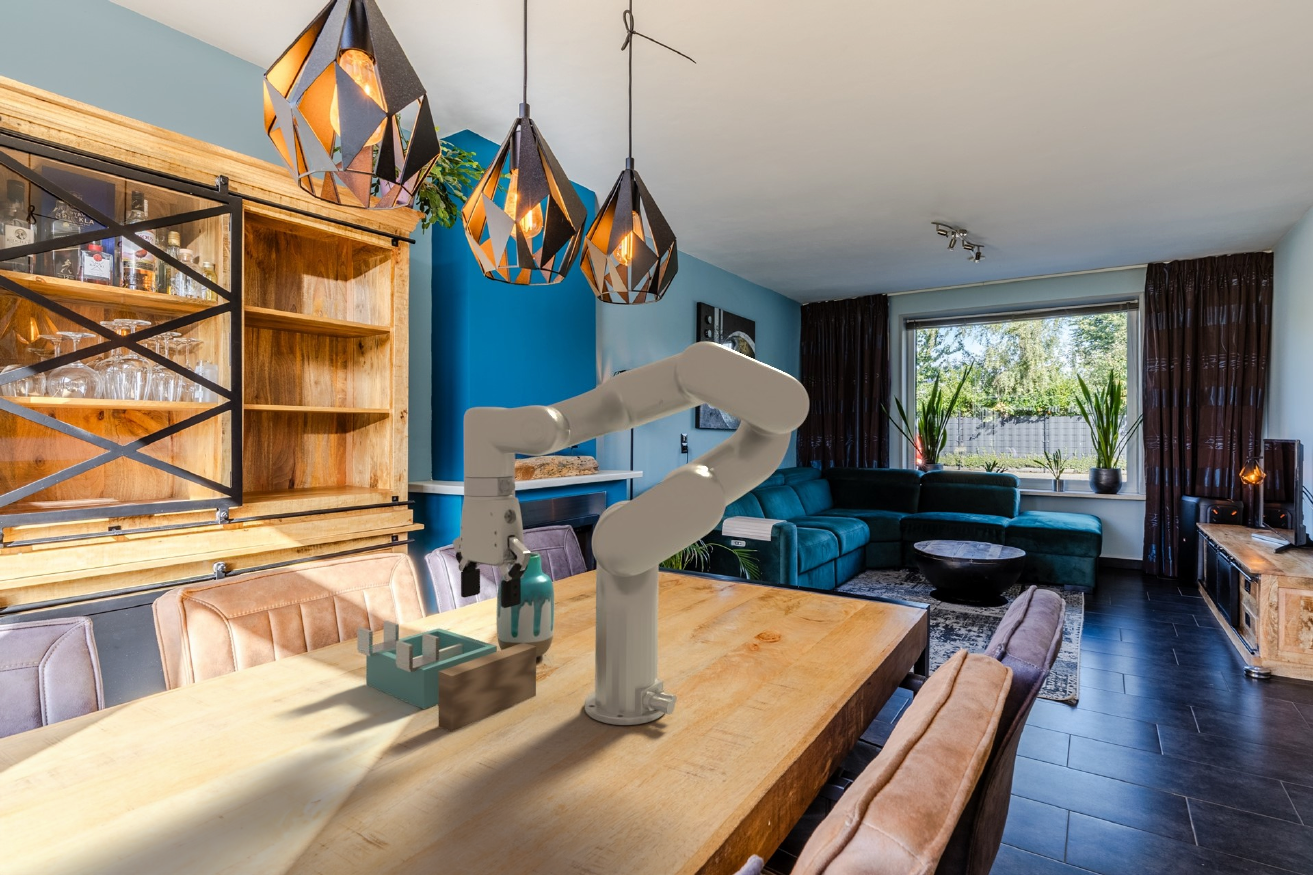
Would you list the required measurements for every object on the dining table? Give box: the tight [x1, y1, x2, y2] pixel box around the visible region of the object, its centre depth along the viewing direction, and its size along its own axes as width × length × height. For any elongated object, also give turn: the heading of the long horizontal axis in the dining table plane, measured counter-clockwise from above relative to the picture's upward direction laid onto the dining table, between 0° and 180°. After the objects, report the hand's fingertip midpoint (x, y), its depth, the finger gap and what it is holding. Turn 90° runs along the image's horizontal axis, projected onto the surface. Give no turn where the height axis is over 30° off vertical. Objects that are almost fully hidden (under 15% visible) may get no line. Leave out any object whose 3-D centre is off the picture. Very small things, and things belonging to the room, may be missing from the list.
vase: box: [496, 552, 556, 659], centre depth 123 cm, size 11×11×19 cm
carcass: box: [365, 627, 498, 710], centre depth 110 cm, size 16×14×6 cm
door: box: [438, 643, 537, 733], centre depth 100 cm, size 16×3×8 cm, turn 144°
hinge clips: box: [356, 620, 439, 672], centre depth 105 cm, size 14×5×4 cm, turn 54°
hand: (490, 600), depth 100 cm, fingers open, 9 cm apart
